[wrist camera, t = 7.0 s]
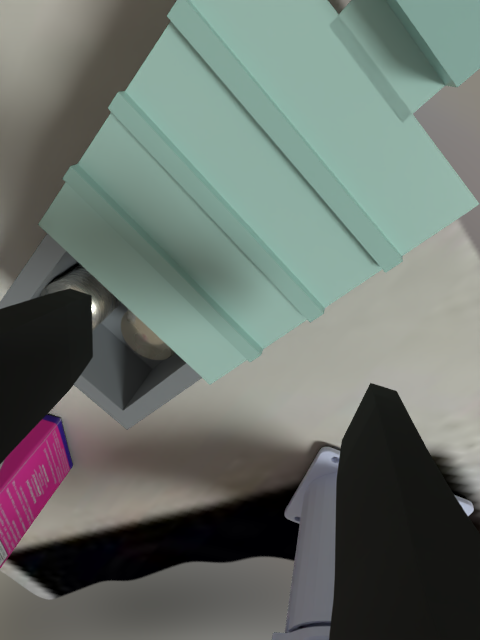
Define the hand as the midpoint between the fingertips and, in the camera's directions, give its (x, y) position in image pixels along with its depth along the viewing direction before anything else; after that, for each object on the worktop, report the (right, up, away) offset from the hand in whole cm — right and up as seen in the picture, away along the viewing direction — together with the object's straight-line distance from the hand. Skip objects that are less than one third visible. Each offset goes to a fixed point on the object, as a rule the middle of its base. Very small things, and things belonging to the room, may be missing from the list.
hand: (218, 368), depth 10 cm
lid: (+2, +7, +5) cm, 8 cm away
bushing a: (-7, +3, +12) cm, 14 cm away
